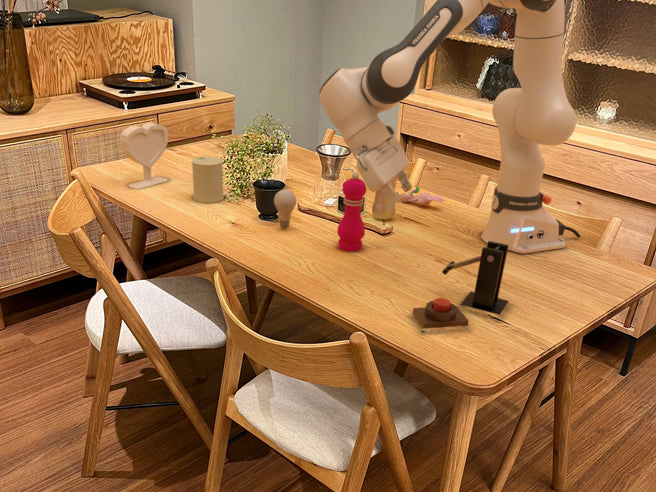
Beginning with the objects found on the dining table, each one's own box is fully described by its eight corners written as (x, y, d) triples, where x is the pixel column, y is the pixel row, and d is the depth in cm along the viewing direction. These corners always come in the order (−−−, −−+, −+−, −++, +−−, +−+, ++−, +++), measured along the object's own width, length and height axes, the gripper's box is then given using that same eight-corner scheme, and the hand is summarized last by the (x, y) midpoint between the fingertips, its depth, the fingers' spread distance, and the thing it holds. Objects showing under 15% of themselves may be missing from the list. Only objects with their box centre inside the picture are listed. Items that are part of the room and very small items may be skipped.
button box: (454, 314, 155) (457, 298, 153) (466, 330, 150) (469, 313, 148) (411, 317, 154) (414, 301, 152) (422, 333, 148) (424, 316, 146)
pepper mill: (361, 254, 182) (368, 178, 172) (334, 250, 183) (339, 175, 173) (365, 243, 188) (371, 170, 178) (338, 240, 189) (343, 167, 179)
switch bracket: (459, 309, 158) (469, 248, 150) (470, 295, 164) (480, 236, 156) (498, 319, 154) (511, 257, 147) (508, 305, 160) (521, 245, 153)
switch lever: (444, 277, 158) (440, 268, 157) (452, 269, 162) (448, 259, 161) (498, 261, 150) (494, 251, 149) (505, 253, 154) (501, 243, 153)
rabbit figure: (394, 206, 218) (439, 209, 210) (394, 187, 215) (439, 190, 207) (403, 201, 223) (448, 204, 214) (403, 182, 220) (448, 184, 212)
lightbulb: (278, 233, 192) (279, 194, 186) (270, 225, 197) (270, 187, 191) (298, 230, 194) (300, 192, 189) (290, 223, 199) (291, 185, 193)
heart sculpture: (133, 190, 218) (127, 131, 209) (123, 186, 221) (117, 127, 212) (172, 179, 228) (168, 123, 219) (162, 176, 231) (158, 120, 222)
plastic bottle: (388, 224, 201) (395, 154, 191) (367, 218, 204) (373, 150, 194) (398, 217, 206) (405, 149, 196) (377, 212, 209) (383, 145, 199)
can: (210, 191, 220) (209, 152, 214) (229, 198, 215) (229, 159, 209) (187, 197, 215) (185, 158, 208) (206, 205, 209) (204, 165, 203)
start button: (446, 304, 152) (447, 297, 151) (452, 312, 149) (453, 304, 148) (430, 305, 151) (431, 298, 150) (436, 313, 148) (437, 305, 147)
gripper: (365, 144, 143) (401, 201, 146) (394, 125, 160) (426, 177, 162) (341, 160, 147) (377, 216, 149) (372, 140, 163) (404, 191, 166)
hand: (403, 195), depth 156 cm, fingers open, 8 cm apart
